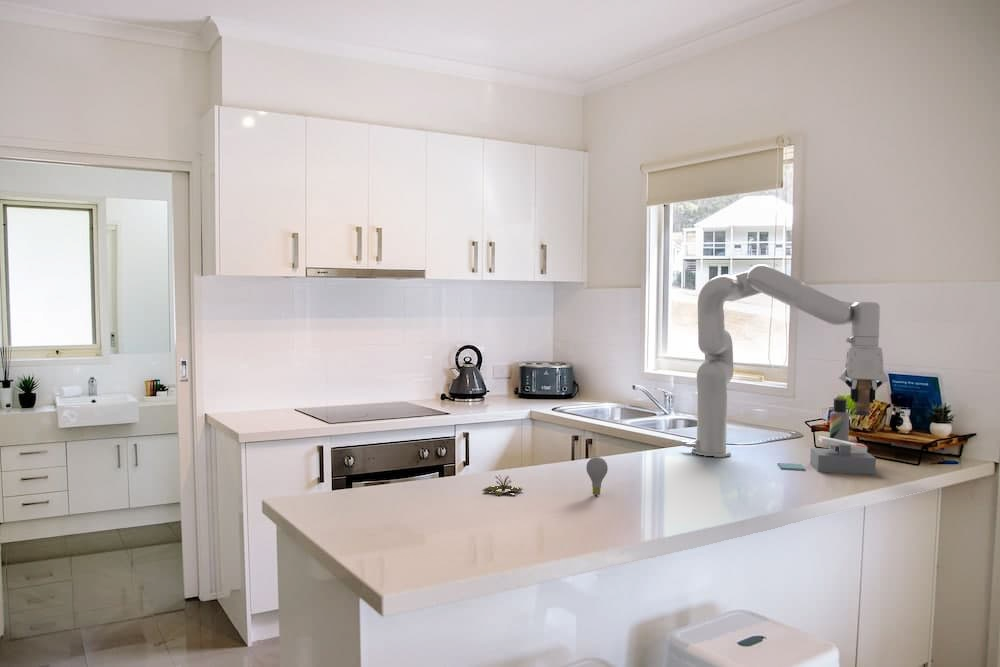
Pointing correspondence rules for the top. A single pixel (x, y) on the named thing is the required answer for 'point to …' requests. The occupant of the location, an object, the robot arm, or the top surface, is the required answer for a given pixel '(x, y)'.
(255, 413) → the top surface
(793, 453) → the top surface
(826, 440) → the breaker rocker
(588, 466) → the light bulb
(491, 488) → the flowering plant
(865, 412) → the brown wooden block
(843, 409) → the lotion bottle
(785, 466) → the mat
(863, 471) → the box
